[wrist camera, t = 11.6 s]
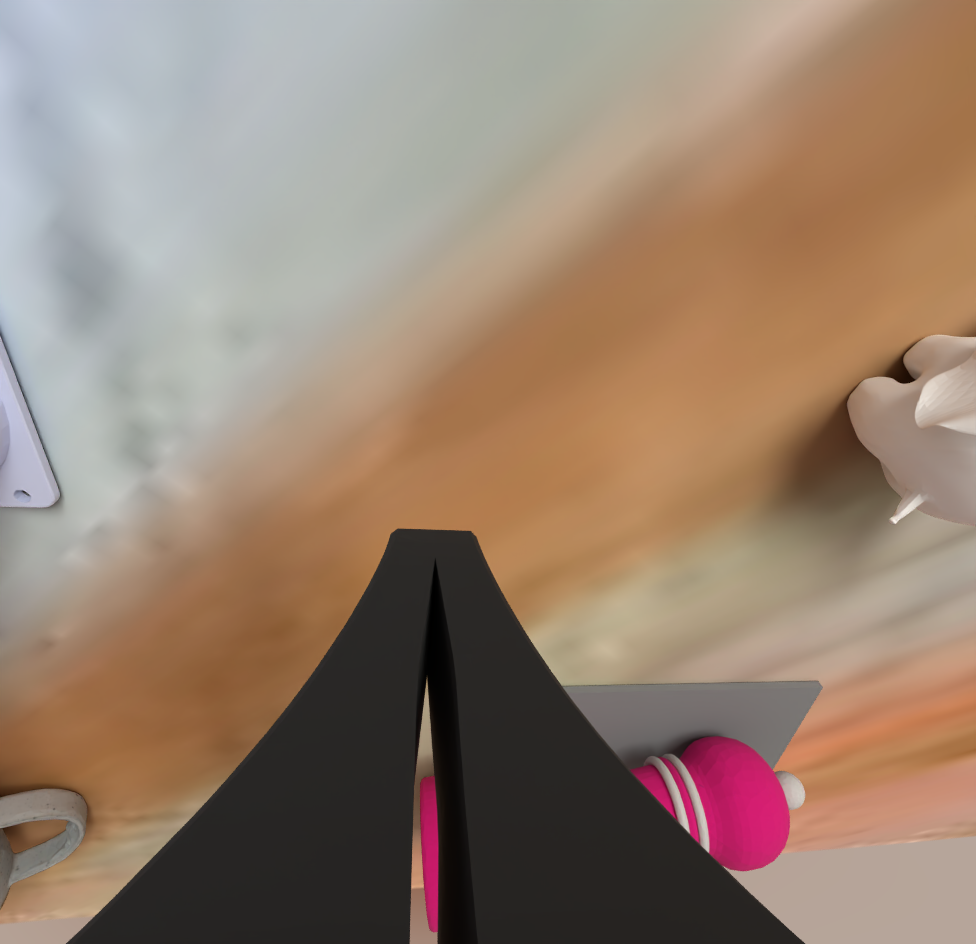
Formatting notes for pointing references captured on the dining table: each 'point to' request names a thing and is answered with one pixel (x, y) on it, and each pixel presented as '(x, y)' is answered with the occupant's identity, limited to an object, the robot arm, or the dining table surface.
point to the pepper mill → (685, 806)
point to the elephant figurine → (925, 428)
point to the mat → (695, 715)
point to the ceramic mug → (44, 805)
